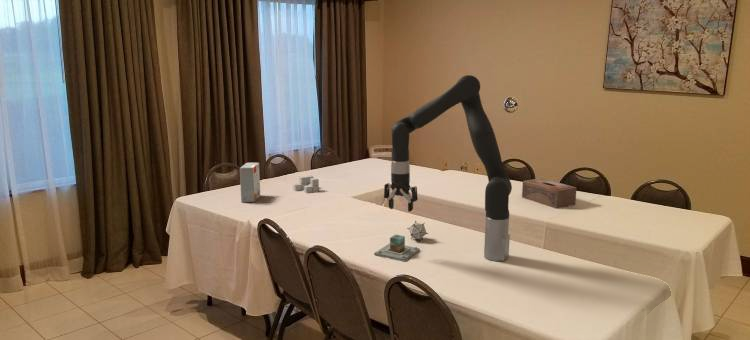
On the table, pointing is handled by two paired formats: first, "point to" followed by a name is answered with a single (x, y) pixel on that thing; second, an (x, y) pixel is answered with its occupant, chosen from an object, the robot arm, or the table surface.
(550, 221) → the table surface
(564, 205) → the tissue box cover
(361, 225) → the table surface
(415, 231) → the grey faceted piece
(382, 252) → the baseplate
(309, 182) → the grey block assembly
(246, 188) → the hard drive box
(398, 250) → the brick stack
